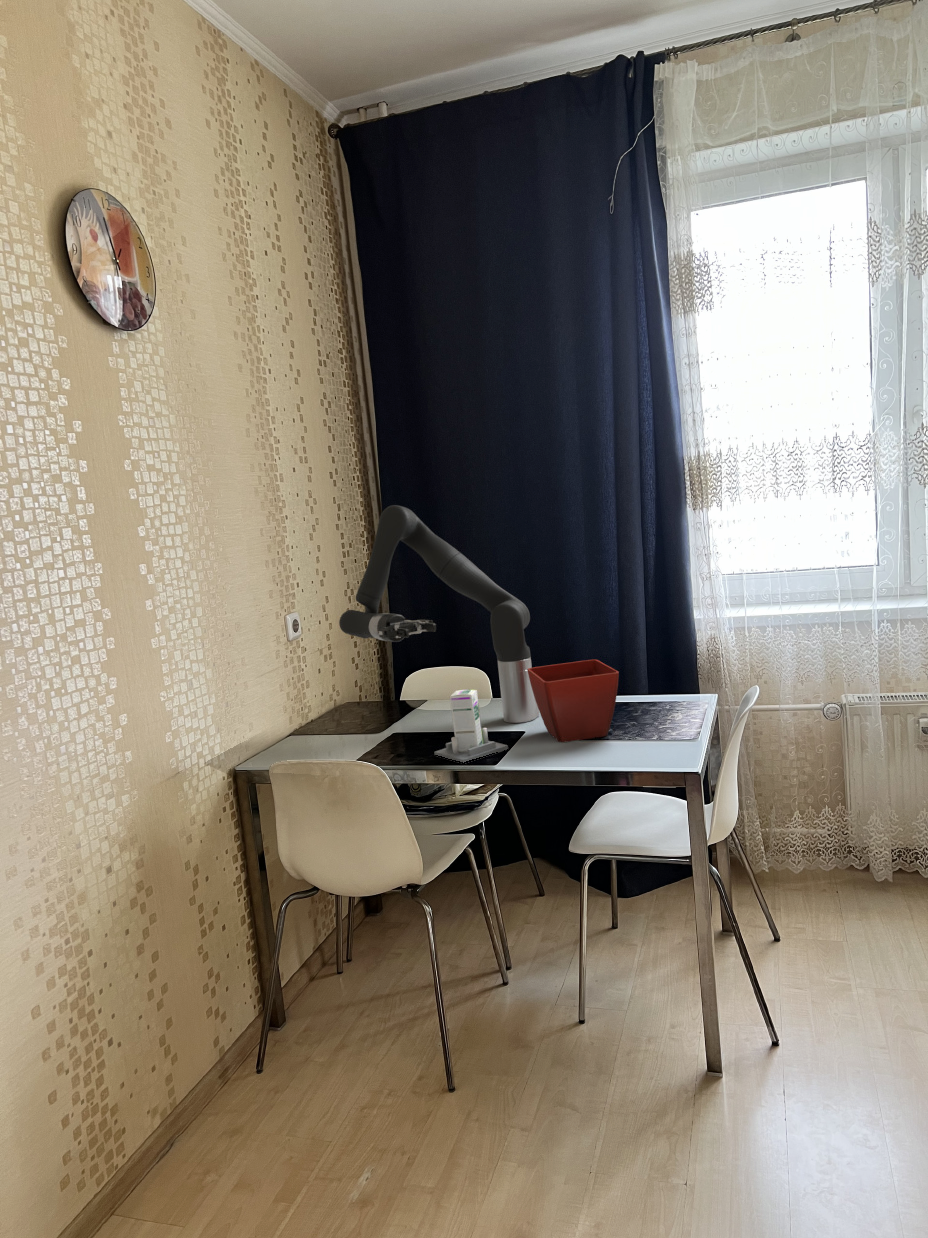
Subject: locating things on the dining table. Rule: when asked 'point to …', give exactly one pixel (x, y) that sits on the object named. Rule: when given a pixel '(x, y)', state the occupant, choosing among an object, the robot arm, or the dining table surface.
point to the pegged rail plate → (471, 749)
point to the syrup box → (466, 719)
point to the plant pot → (575, 698)
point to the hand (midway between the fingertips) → (421, 630)
